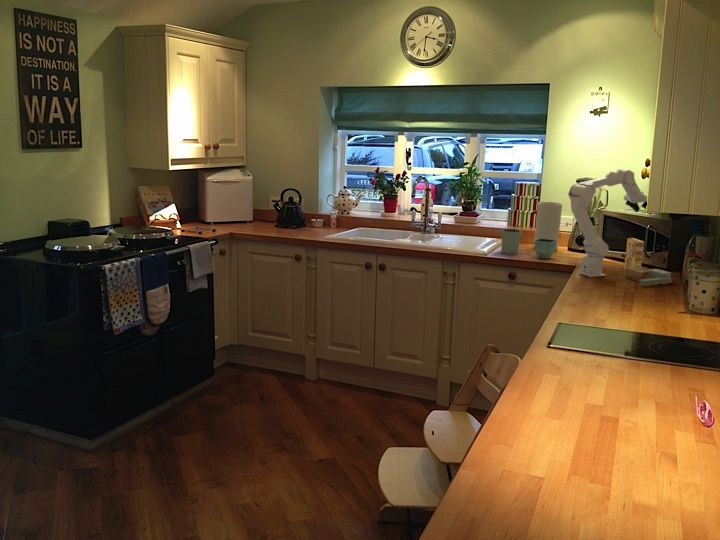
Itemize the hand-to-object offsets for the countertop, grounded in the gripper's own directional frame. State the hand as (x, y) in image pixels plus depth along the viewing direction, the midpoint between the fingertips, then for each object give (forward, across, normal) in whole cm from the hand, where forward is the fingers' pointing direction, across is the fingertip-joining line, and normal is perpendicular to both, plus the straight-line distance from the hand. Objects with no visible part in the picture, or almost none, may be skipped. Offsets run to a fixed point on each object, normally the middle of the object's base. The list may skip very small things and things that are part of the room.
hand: (644, 211), depth 327 cm
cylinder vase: (+16, +58, +24) cm, 64 cm away
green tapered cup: (-3, +54, +43) cm, 70 cm away
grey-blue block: (+18, -16, +24) cm, 34 cm away
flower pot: (+5, +39, +36) cm, 54 cm away
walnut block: (+13, -12, +29) cm, 34 cm away
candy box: (+20, +2, +21) cm, 29 cm away
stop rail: (+13, -22, +29) cm, 39 cm away
